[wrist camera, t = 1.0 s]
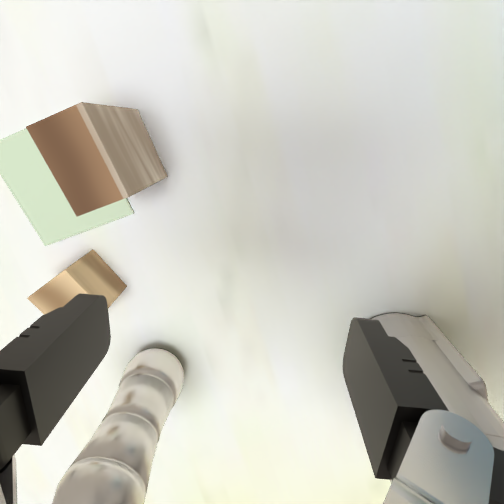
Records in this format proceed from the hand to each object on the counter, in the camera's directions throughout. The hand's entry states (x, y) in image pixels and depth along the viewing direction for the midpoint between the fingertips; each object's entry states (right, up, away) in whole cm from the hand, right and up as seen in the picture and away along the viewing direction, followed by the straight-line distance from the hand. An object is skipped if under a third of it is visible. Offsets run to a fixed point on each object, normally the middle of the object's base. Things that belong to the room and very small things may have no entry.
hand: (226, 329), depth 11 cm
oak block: (-16, 0, +23) cm, 28 cm away
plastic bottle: (-10, -10, +27) cm, 30 cm away
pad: (-17, +9, +19) cm, 27 cm away
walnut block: (-10, +11, +18) cm, 24 cm away
